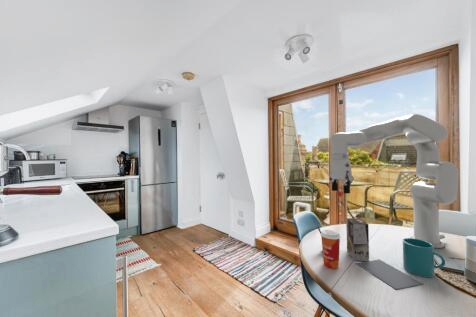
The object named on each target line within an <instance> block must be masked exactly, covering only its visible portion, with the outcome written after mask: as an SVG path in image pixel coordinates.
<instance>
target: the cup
mask: <svg viewBox="0 0 476 317" xmlns="http://www.w3.org/2000/svg"><path fill="white" fill-rule="evenodd" d="M435 256H437V257H439V258H440V259H441V263H440V264H435ZM402 260H403V262H402V265H403V268H404V270H406V271H407V272H409V273H410V274H412V275H416V276H419V277H423V278H432V277H434V276H435V269H442V268H443V267H445V266H446V259H445V258H444V256H443V255H442V254H440V253H438V252H437V251H435V248H434V246H433V245H432V244H431V243H429V242H426V241H423V240H419V239H414V238H410V237H406V238H403V239H402Z"/></svg>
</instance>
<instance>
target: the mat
mask: <svg viewBox="0 0 476 317" xmlns="http://www.w3.org/2000/svg"><path fill="white" fill-rule="evenodd" d="M355 264H356V265H357V266H358V267H361V268H362V269H363V270H365V271H367V272H368V273H370V274H371V275H372V276H374V277H376V278H377V279H379V280H381V281H382V282H383V283H385V284H386V285H388V286H390V287H391V288H392V289H394V290H402V289H407V288H412V287H417V286H422V285H424V282H421V281H420V280H418V279H416V278H414V277H413V276H411V275H409V274H407V273H405V272H403V271H401V270H400V269H398V268H396V267H394V266H392V265H390V264H388V263H386V262H385V261H383V260H382V259H373V260H369V261H360V262H356V263H355Z"/></svg>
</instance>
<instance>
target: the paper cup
mask: <svg viewBox="0 0 476 317" xmlns="http://www.w3.org/2000/svg"><path fill="white" fill-rule="evenodd" d="M320 236H321V248H322V257H323V258H322V259H323V265H324V267H326V268H327V269H329V270H337V269H339V267H340V266H339V265H340V264H339V262H340V244H341V243H340V241H341V240H340V239H341V235H340V232H338V231H337V230H334V229H322V230H321V234H320Z"/></svg>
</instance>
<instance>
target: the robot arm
mask: <svg viewBox="0 0 476 317" xmlns="http://www.w3.org/2000/svg"><path fill="white" fill-rule="evenodd" d="M402 134H404V135H405V138H406V140H407V141H408V142H409V143H410V144H411V145H412V146H414V148H415V149H416V152H417V154H416V165H415V174H416V176H417V177H418V178H420V179H423V180H431V181H435V182H431V181H417V182H414V183H412V185H411V186H410V189H409V190H410V194H411V199H412V206H413V207H412V208H413V235H412V236H410V237H409V238H414V239H419V240H423V241H426V242H429V243H431V244H432V245H433V246H434V249H442V248H444V247H445V243H444V242H442V241H441V240H442V239H443V240H444V239H446V236H445V235H444V234H440V210H439V207H438V205H437V204H441V205H450V204H453V203H454V202H455V201H456V199H457V196H458V188H459V180H460V178H459V177H460V172H459V169H458V167H457V166H456V164H455V163H453V162H451V161H446V160H445V161H444V160H441V150H440V148H439V146H438V145H437V144H436V143H439V142H443V141H444V140H445V139H446V138H447V137H448V129H447V128H446V127H445V125H443V124H441V123H439V122H437V121H435V120H433V119H431V118H429V117H427V116H424V115H422V114H418V113H413V114H409V115H404V116H401V117H395V118H393V119H389V120H387V121H383V122H380V123H376V124H372V125H369V126H368V127H364V128H361V129H358V130H355V131H351V132H336V133H332V134H331V136H330V138H331V139H330V140H331V141H330V142H331V145H330V147H331V150H330V151H331V161H330V173H329V174H328V178H329V180H330V183H331V191H333V192H335V191H338V190H339V186H338V185H339V184H338V181H342V182H343V184H344V185H343V189H342V190H343V194H350V193H351V186H352V183H353V181H354V179H355V177H354V175H352V174H353V173H352V164H351V162H350V159H349V157H350V155H349V149H350V148H357V147H358V148H359V147H362V146H364V145H366V143H371V142H372V143H373V142H377V141H383V140H386V139H389V138H392V137H396V136H400V135H402Z"/></svg>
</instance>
